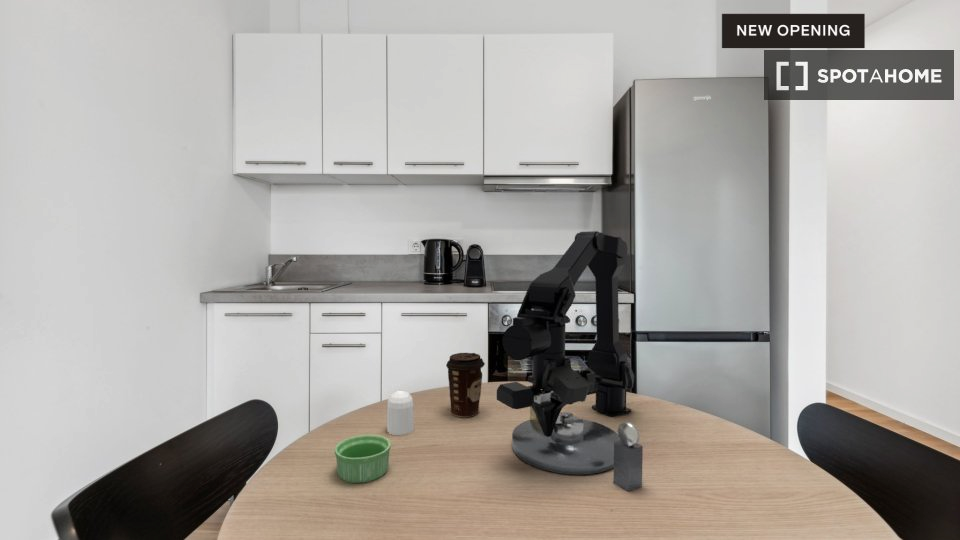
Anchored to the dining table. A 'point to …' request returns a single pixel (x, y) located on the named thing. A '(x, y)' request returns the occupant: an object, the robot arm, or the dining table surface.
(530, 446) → the turntable
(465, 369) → the coffee cup
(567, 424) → the cover
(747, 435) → the dining table surface
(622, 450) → the indicator stand
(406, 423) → the salt shaker
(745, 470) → the dining table surface
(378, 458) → the ramekin
